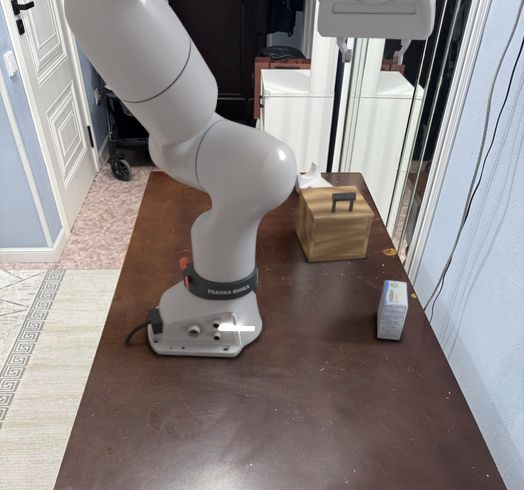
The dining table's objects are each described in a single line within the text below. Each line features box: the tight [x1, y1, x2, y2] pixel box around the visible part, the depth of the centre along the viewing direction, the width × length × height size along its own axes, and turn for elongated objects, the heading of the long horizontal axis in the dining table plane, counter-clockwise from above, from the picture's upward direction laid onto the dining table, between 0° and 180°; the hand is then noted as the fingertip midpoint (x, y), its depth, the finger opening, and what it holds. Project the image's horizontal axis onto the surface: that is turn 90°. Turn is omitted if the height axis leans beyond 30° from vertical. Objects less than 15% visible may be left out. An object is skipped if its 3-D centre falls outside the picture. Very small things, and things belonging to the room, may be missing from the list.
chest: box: [296, 192, 373, 263], centre depth 118 cm, size 14×14×11 cm
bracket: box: [294, 160, 334, 194], centre depth 137 cm, size 13×7×8 cm, turn 26°
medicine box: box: [376, 280, 409, 341], centre depth 96 cm, size 8×4×9 cm, turn 170°
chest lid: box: [300, 185, 376, 221], centre depth 112 cm, size 15×14×5 cm
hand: (371, 62), depth 92 cm, fingers open, 8 cm apart
